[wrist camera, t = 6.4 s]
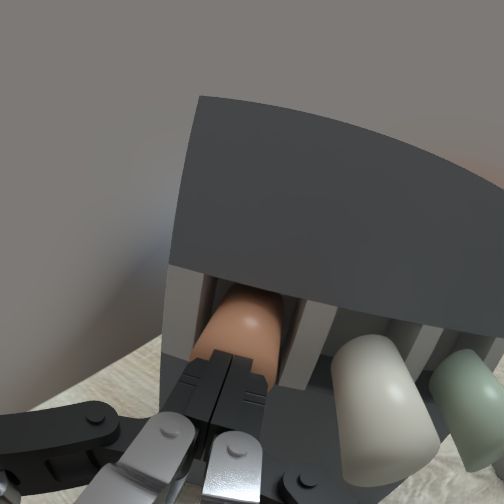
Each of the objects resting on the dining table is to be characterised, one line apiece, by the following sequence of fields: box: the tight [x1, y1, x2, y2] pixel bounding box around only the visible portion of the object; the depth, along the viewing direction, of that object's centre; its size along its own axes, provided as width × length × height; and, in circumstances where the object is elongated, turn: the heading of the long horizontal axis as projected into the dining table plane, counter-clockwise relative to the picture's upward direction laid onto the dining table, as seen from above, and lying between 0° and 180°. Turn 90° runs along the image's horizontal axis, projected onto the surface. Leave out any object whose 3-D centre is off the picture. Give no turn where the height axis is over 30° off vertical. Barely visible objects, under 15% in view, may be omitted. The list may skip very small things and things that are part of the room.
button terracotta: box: [189, 282, 284, 393], centre depth 13 cm, size 6×3×3 cm, turn 172°
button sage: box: [429, 349, 504, 472], centre depth 9 cm, size 6×3×3 cm, turn 172°
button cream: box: [331, 334, 440, 487], centre depth 9 cm, size 6×3×3 cm, turn 172°
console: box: [159, 96, 504, 504], centre depth 16 cm, size 6×20×27 cm, turn 82°
